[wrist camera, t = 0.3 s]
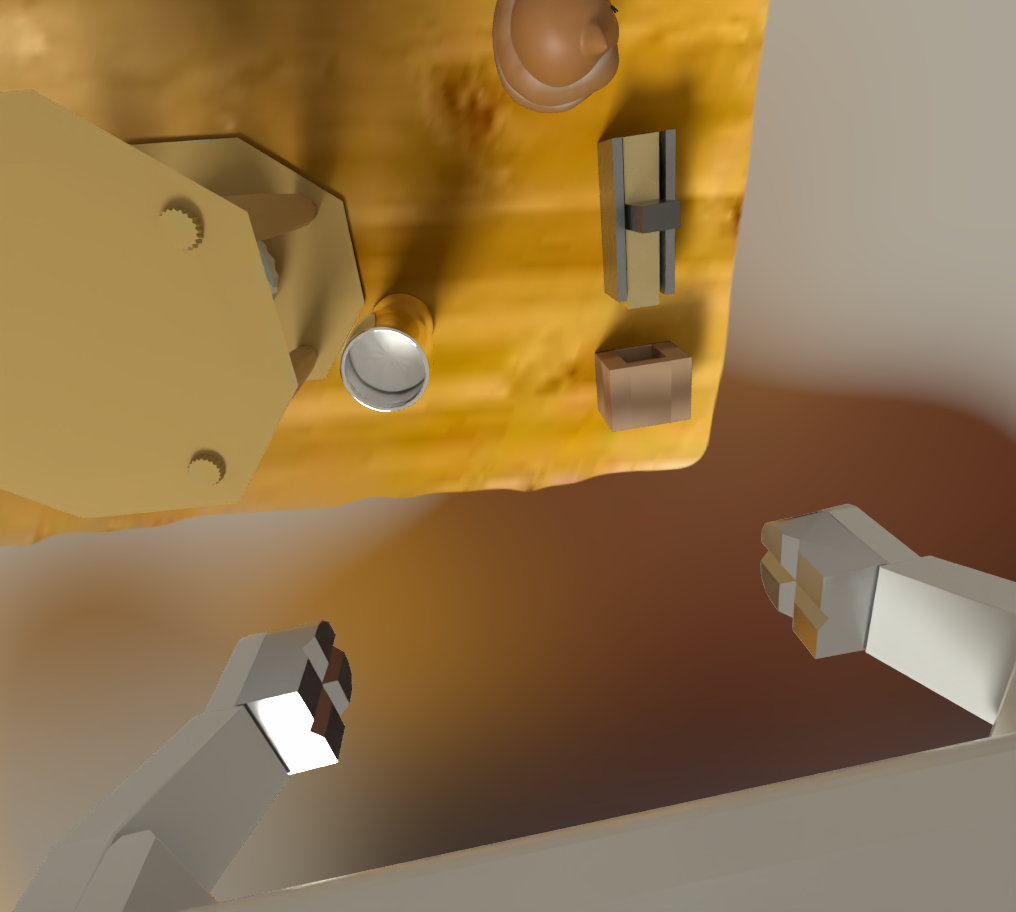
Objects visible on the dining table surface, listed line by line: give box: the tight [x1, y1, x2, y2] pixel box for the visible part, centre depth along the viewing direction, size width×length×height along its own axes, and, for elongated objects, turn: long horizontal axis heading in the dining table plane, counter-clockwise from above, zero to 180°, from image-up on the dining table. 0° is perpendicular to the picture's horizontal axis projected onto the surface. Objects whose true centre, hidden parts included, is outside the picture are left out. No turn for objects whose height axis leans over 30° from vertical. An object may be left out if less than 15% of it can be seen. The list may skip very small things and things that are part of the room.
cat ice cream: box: [492, 0, 619, 113], centre depth 36 cm, size 9×8×18 cm
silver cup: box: [340, 293, 434, 412], centre depth 46 cm, size 7×7×15 cm
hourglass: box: [0, 90, 364, 519], centre depth 38 cm, size 24×22×25 cm
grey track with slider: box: [597, 129, 676, 302], centre depth 48 cm, size 13×5×5 cm, turn 8°
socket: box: [595, 341, 692, 432], centre depth 55 cm, size 6×8×6 cm
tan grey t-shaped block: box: [619, 132, 680, 310], centre depth 46 cm, size 14×3×8 cm, turn 8°
